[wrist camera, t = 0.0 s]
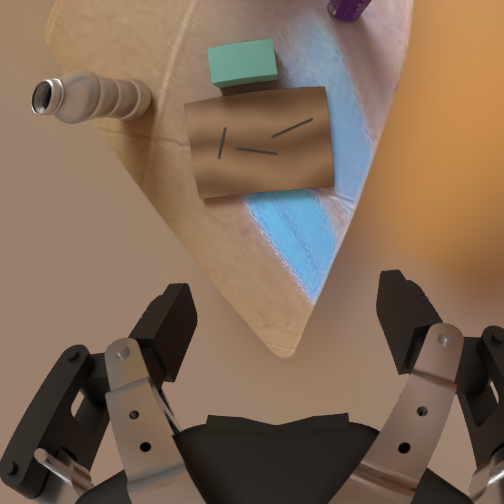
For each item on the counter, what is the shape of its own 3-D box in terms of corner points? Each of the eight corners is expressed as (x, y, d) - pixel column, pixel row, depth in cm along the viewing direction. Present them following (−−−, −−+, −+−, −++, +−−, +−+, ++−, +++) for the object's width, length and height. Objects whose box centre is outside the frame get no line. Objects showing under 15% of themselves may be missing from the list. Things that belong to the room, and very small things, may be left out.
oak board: (187, 105, 34) (183, 104, 33) (323, 88, 31) (325, 86, 30) (202, 196, 40) (199, 199, 38) (332, 184, 37) (334, 187, 36)
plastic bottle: (138, 128, 36) (43, 143, 18) (112, 104, 34) (16, 109, 16) (164, 96, 34) (73, 84, 16) (136, 72, 32) (43, 54, 14)
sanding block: (216, 57, 31) (207, 48, 26) (273, 49, 29) (272, 38, 25) (220, 88, 33) (211, 83, 28) (278, 80, 32) (277, 74, 27)
